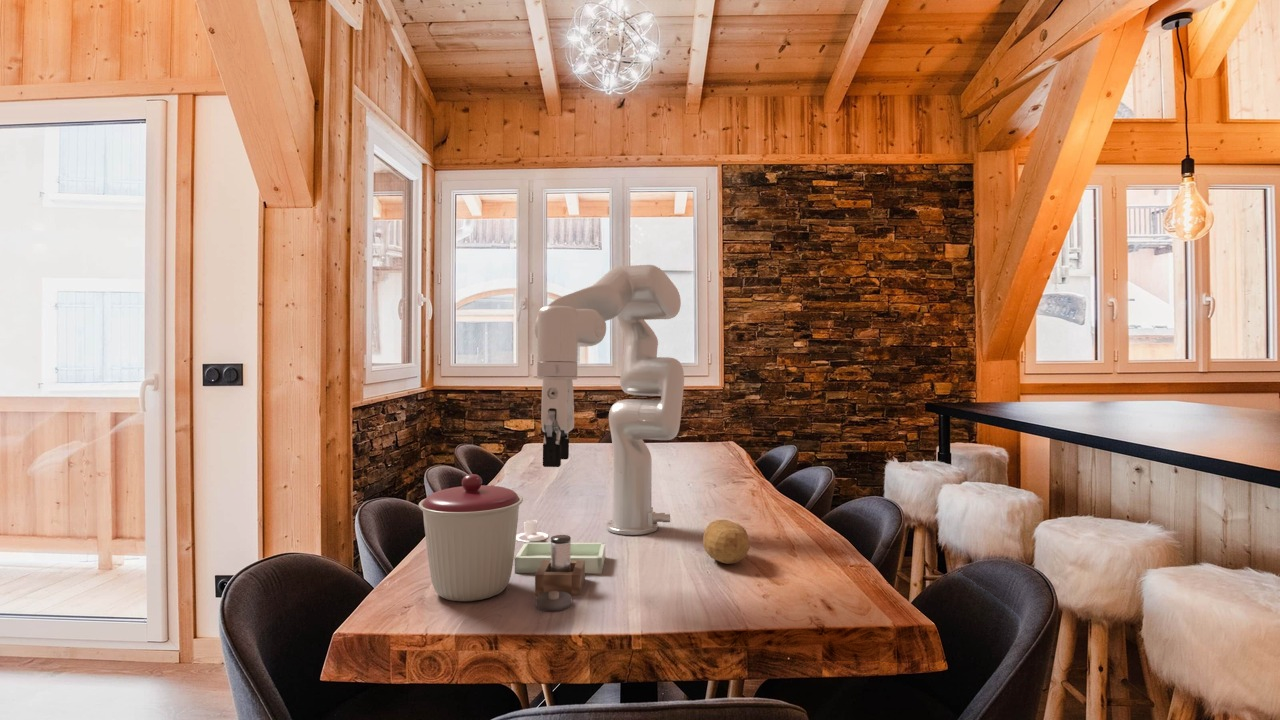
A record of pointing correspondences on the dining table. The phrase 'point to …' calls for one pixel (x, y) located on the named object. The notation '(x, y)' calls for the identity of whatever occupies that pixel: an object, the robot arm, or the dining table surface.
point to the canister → (471, 538)
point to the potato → (726, 541)
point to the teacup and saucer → (532, 532)
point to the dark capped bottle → (561, 553)
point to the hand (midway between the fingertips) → (556, 462)
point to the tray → (537, 552)
